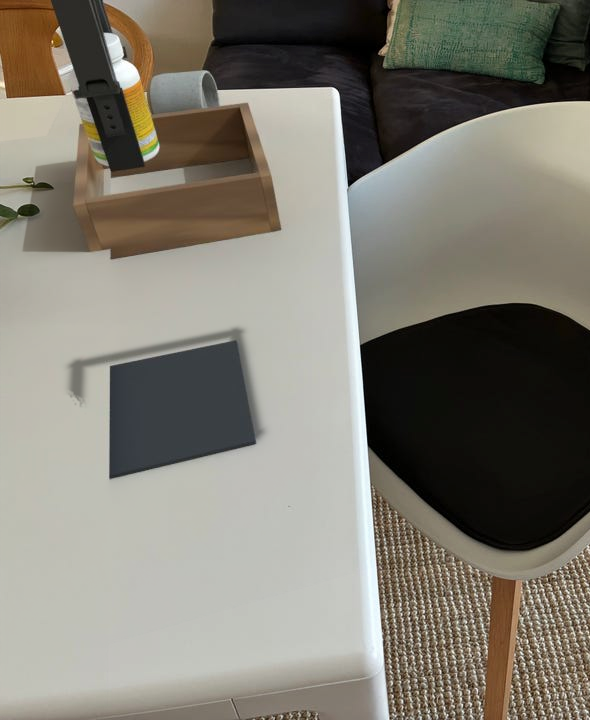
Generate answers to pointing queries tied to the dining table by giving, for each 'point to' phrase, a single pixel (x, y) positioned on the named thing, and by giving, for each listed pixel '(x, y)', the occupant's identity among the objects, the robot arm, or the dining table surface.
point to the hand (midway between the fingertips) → (126, 151)
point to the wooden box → (180, 187)
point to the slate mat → (177, 408)
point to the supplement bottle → (134, 100)
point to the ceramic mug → (182, 92)
